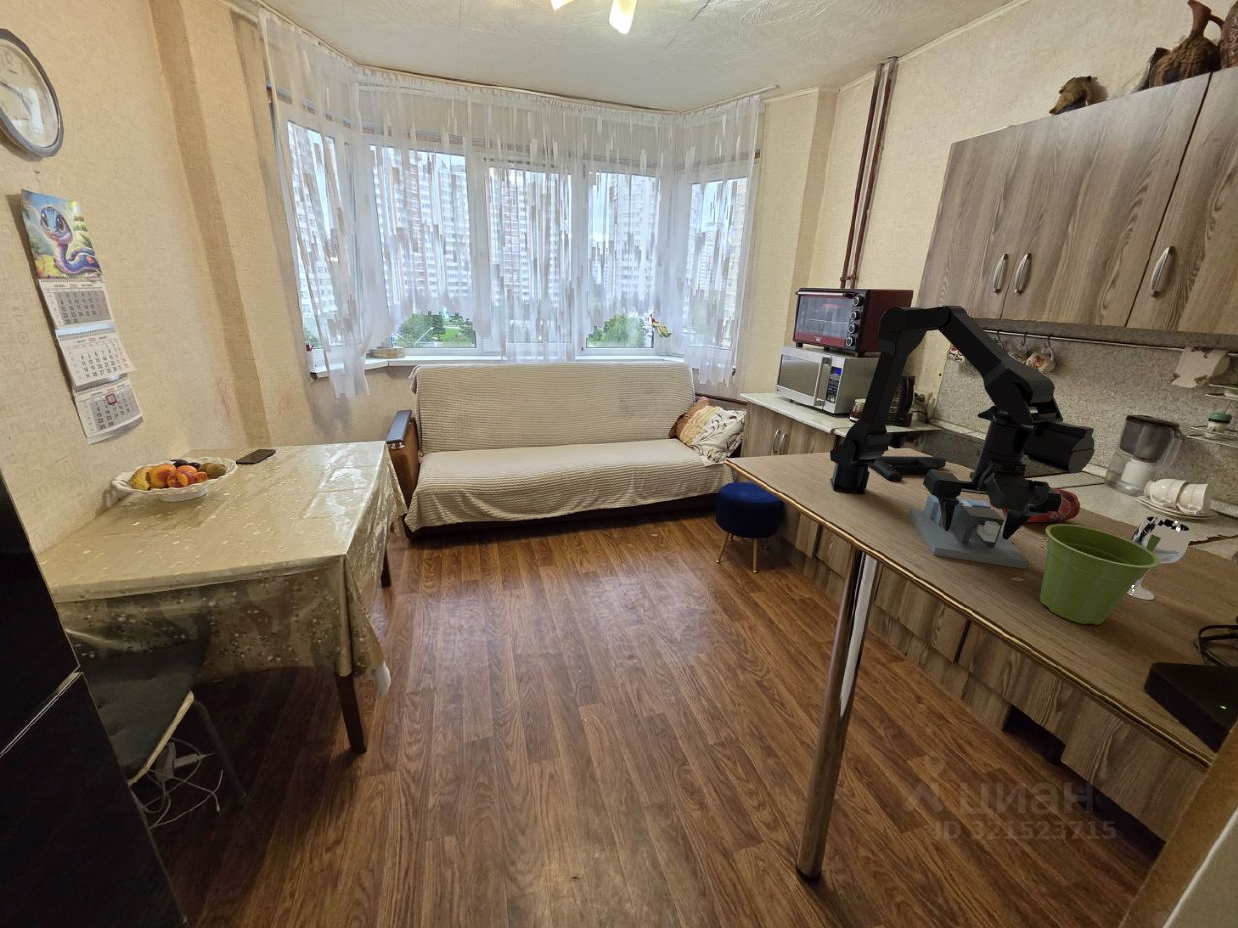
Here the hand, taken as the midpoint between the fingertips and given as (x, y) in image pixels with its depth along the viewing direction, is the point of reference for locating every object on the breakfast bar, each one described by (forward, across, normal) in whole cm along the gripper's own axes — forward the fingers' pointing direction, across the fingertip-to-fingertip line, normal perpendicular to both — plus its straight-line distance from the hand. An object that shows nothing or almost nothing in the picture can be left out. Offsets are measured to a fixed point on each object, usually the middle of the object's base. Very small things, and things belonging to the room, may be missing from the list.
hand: (974, 534), depth 87 cm
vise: (+3, 0, +4) cm, 5 cm away
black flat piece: (+4, +2, +38) cm, 38 cm away
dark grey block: (+1, 0, 0) cm, 1 cm away
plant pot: (+3, +8, -15) cm, 17 cm away
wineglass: (+3, +21, -6) cm, 22 cm away
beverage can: (+4, +18, +19) cm, 27 cm away
